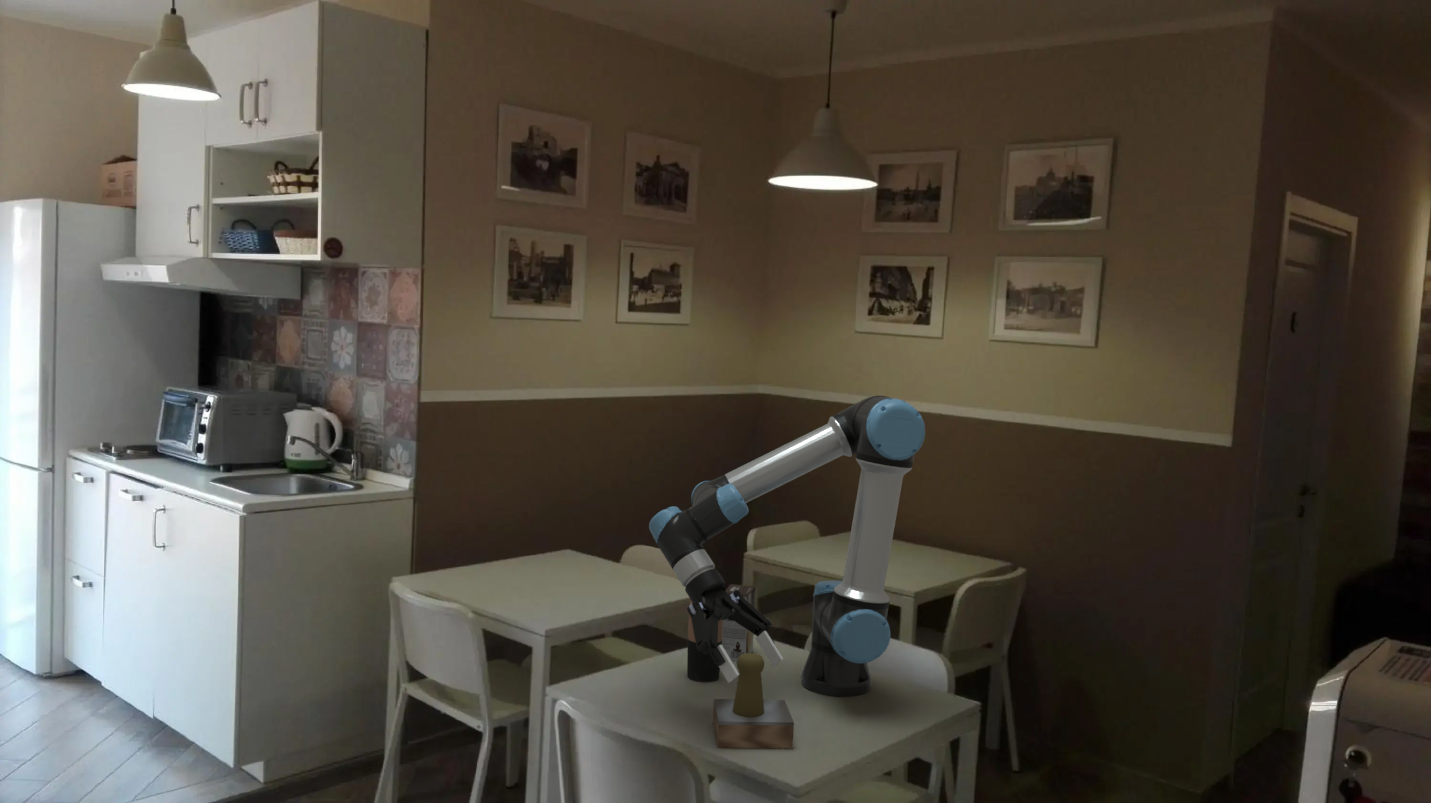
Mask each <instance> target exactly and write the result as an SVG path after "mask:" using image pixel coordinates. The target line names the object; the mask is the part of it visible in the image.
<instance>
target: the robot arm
mask: <svg viewBox="0 0 1431 803" xmlns="http://www.w3.org/2000/svg"><path fill="white" fill-rule="evenodd" d="M925 438H926V425H925V421H924V419H923V417H922V415H921V414H920V412H919V411H918V410H917V409H916V408H915V407H914V406H913V405H912V404H910V403H909V402H907V401H905V400H902V399H898V398H892V397H889V396H885V395H873V396H869V397H868V396H867V397H866V398H864V399H862V400H860V401H858V402H856V403H854V404H852V405H850V406H848V407H847V408H845V409H843V410H841V411H840V412H837V413H835V414H834V415H831V416H829V419H828V422H827V423H826V424H824V425H823V426H820V427H818V428H815V429H814V430H812V431H810V432H808V433H806V434H804V435H802V436H800V437H798V438H795V439H794V440H792V441H789V442H788V443H785V444H783V445H781V446H779V447H778V448H775V449H774V450H772V451H770V452H767V453H766V454H763V455H762V456H759V457H757V458H755V459H753V460H751V461H749V462H748V463H745V464H743V465H741V466H739V467H737V468H735V469H733V470H731V471H729V472H727V473H725V474H724V475H721V476H718V477H717V478H714V479H712V480H704V481H702V482H699V483H698V484H697V485H695V487H694V488H693V490H692V492H691V497H690V498H691V500H690V501H691V506H690V507H689V508H687V509H686V510H683V511H682V510H681V509H680V508H679V507H678V506H674V505H673V506H669V507H667V508H665V509H662V510H660V511H659V512H657V513H656V514H655V515H654V516H653V517H652V518H651V519H650V521H649V524H648V528H649V529H648V530H649V531H650V533H651V536H652V537H653V539H654V542H655V543H656V545H657V547H658V548H659V550H660V552H661V553H662V555H663V556H664V558H665V559H666V561H667V563H668V564H669V565H670V567H671V569H672V570H673V572H674V573H675V576H676V577H677V579H678V580H679V582H680V583H681V585H682V587H685V589H684V590H685V593H686V595H688V598H689V600H690V599H691V601H692V604H691V605H690V606H689V605H688V607H687V609H686V610H687V612H688V615H689V614H690V616H691V620H692V625H693V630H694V636H695V641H696V647H697V650H698V651H699V652H702V651H703V653H704V654H705V655H707V654H710V655H711V657H712V659H713V660H714V662H715V664H716V665H717V666H719V668H720V672H721V673H722V675H723V677H724V678H725V680H726V681H727V683H728V684H730V683H731V682H733V681H734V680H735V679H737V678H738V677H739V675H740V674H739V670H738V668H737V667H736V666H735V664H734V663H733V661H731V659H730V658H729V656H728V654H727V653H726V651H725V650H724V648H723V646H722V645H719V646H718V647H717V640H718V621H720V620H725V619H728V620H733V621H735V622H736V623H738V624H740V625H741V626H743V627H744V628H746V629H747V630H749V631H750V632H752V633H753V635H755V636H756V638H755V640H756V642H757V643H758V645H759V647H760V648H761V650H762V652H763V653H764V655H765V657H766V658H767V660H768V661H769V663H770V665H771V667H772V668H774V667H776V666H777V665H779V664H780V663H781V662H782V661H783V660H784V656H782V654H781V653H780V651H779V649H778V648H777V647H776V644H775V641H774V639H773V638H772V636H771V635H770V633H769V629H770V628H771V626H772V622H771V621H770V620H769V619H768V618H767V617H766V616H764V615H763V613H761V612H760V611H759V610H758V609H757V608H754V607H753V606H752V605H751V604H750V603H749V602H748V601H746V600H745V599H744V597H743V596H742V595H741V593H740V592H739V591H738V590H735V591H734V592H733V593H732V594H730V595H729V594H728V593H727V592H726V591H725V590H726V581H725V580H724V578H723V576H722V575H721V573H720V572H719V571H718V569H716V568H715V567H716V565H715V563H714V561H713V560H712V559H711V557H710V555H709V554H708V553H707V551H706V549H705V548H704V546H703V545H702V544H704V543H705V542H707V541H709V540H711V539H712V538H713V537H715V536H716V535H718V534H720V533H721V532H724V530H726V529H728V528H730V527H731V526H733V525H734V524H737V523H739V521H740V520H742V519H743V518H744V517H746V516H747V515H748V513H749V507H748V505H747V503H749V502H751V501H753V500H754V499H757V498H759V497H761V496H763V495H765V494H767V493H769V492H771V491H773V490H776V489H777V488H779V487H781V486H783V485H786V484H787V483H789V482H792V481H794V480H795V479H798V478H800V477H801V476H804V475H806V474H808V473H809V472H812V471H814V470H815V469H817V468H820V467H822V466H824V465H826V464H828V463H830V462H832V461H834V460H835V459H838V458H840V457H842V456H846V457H849V458H850V457H852V456H855V455H856V456H855V460H856V463H857V464H858V465H859V466H860V469H861V470H860V476H859V480H858V481H859V482H858V486H857V487H858V488H857V494H856V498H855V505H854V510H853V511H854V512H853V517H852V518H853V519H852V523H851V530H850V536H849V540H848V547H847V553H846V558H845V565H844V570H843V571H844V572H843V578H842V580H823V581H819V582H816V584H815V585H814V589H813V590H814V591H813V594H812V597H813V604H812V624H811V644H810V646H811V647H810V651H809V653H808V656H807V659H806V661H805V664H804V666H803V669H802V672H801V684H802V686H803V687H804V688H805V689H807V690H809V691H811V692H814V693H818V694H820V695H826V696H833V697H834V696H835V697H836V696H837V697H853V696H859V695H863V694H866V693H867V692H869V691H870V690H871V688H872V687H871V682H872V677H871V674H870V669H869V666H868V663H870V662H873V661H875V660H876V659H878V658H879V657H881V656H882V655H883V654H884V653H885V652H886V650H887V649H888V647H889V644H890V642H891V629H890V624H889V622H888V620H887V618H888V613H889V612H888V611H889V606H890V602H891V599H890V597H889V595H888V594H887V593H886V591H885V586H886V585H885V584H886V579H887V573H888V567H889V562H890V555H891V549H892V545H893V544H892V543H893V538H894V533H895V527H896V520H897V514H898V509H899V502H900V497H901V491H902V485H903V479H904V476H905V475H906V474H907V473H909V472H910V471H911V470H913V465H914V459H915V454H917V453H918V452H919V450H920V449H921V447H922V446H923V443H924V441H925ZM733 609H734V610H733ZM704 614H705V618H704Z"/></svg>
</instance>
